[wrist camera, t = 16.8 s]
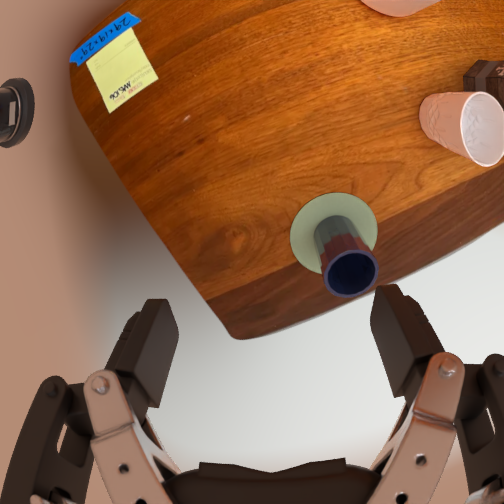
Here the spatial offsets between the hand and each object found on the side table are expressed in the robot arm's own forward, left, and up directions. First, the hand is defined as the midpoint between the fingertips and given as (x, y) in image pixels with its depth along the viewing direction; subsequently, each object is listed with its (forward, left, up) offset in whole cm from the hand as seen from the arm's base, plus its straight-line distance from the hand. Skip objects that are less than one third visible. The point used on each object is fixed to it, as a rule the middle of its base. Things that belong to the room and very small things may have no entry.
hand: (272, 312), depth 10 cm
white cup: (+22, +6, -25) cm, 34 cm away
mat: (+7, -10, -25) cm, 28 cm away
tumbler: (+8, -10, -25) cm, 27 cm away
